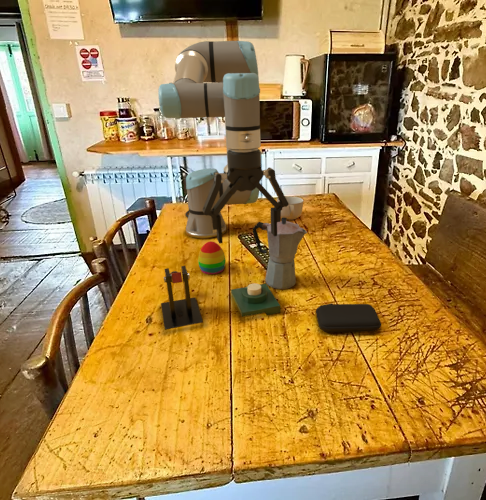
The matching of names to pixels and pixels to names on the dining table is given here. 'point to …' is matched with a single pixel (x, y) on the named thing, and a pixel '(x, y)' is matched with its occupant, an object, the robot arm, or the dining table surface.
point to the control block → (255, 301)
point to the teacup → (292, 208)
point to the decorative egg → (211, 258)
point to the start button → (254, 289)
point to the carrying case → (347, 318)
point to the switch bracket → (180, 305)
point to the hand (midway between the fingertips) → (247, 237)
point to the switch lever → (176, 277)
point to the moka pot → (281, 252)
